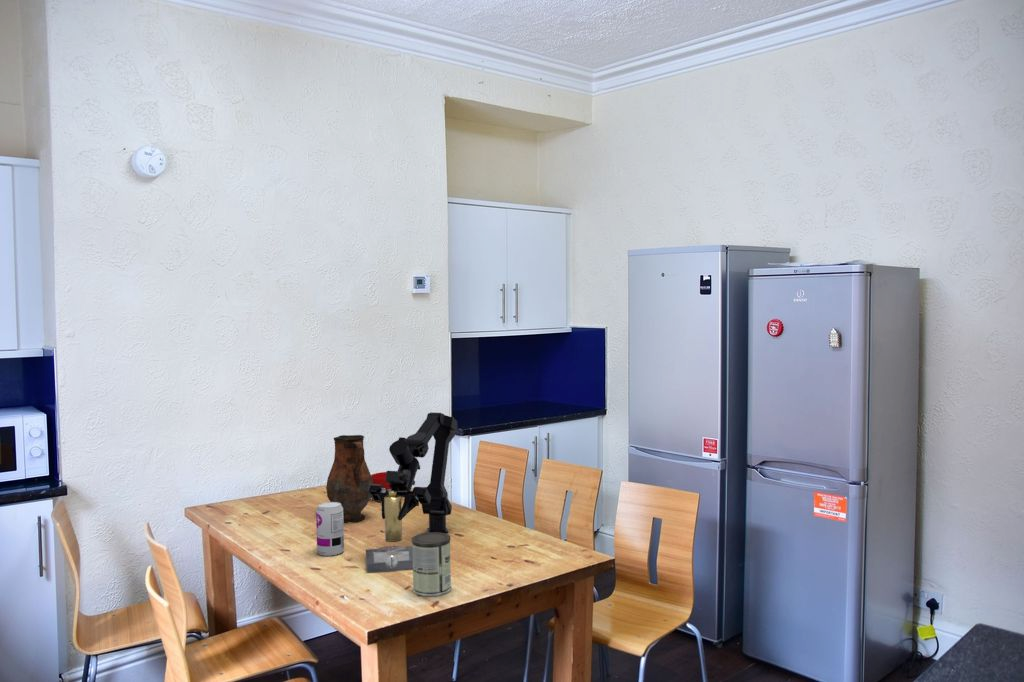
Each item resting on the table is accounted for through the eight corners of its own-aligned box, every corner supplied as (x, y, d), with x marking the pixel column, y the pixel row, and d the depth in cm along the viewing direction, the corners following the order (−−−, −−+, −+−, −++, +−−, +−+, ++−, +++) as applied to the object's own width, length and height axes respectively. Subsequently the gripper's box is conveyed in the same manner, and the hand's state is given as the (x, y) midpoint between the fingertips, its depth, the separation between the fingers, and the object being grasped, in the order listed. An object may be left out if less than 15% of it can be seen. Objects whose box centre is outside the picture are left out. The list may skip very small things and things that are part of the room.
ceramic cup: (359, 498, 312) (358, 473, 312) (401, 495, 317) (400, 470, 317) (362, 506, 300) (362, 480, 299) (406, 502, 305) (406, 477, 304)
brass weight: (395, 536, 235) (394, 488, 234) (405, 539, 232) (404, 490, 231) (381, 540, 232) (380, 491, 231) (392, 543, 228) (391, 494, 227)
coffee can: (414, 583, 214) (413, 532, 213) (452, 582, 214) (451, 531, 213) (410, 597, 203) (409, 543, 203) (450, 596, 204) (449, 542, 203)
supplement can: (317, 557, 237) (316, 508, 236) (316, 549, 245) (315, 502, 244) (344, 555, 239) (343, 506, 239) (343, 547, 247) (342, 500, 246)
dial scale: (365, 557, 236) (365, 543, 236) (412, 554, 239) (412, 539, 239) (367, 573, 222) (366, 557, 222) (416, 569, 225) (416, 553, 225)
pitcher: (363, 510, 293) (362, 431, 292) (385, 523, 275) (383, 438, 274) (320, 517, 284) (318, 435, 283) (339, 530, 266) (338, 443, 265)
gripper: (369, 457, 237) (352, 502, 227) (426, 460, 232) (411, 506, 222) (381, 478, 245) (366, 522, 235) (437, 481, 239) (423, 526, 229)
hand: (391, 519), depth 230 cm, fingers closed on brass weight, 5 cm apart
